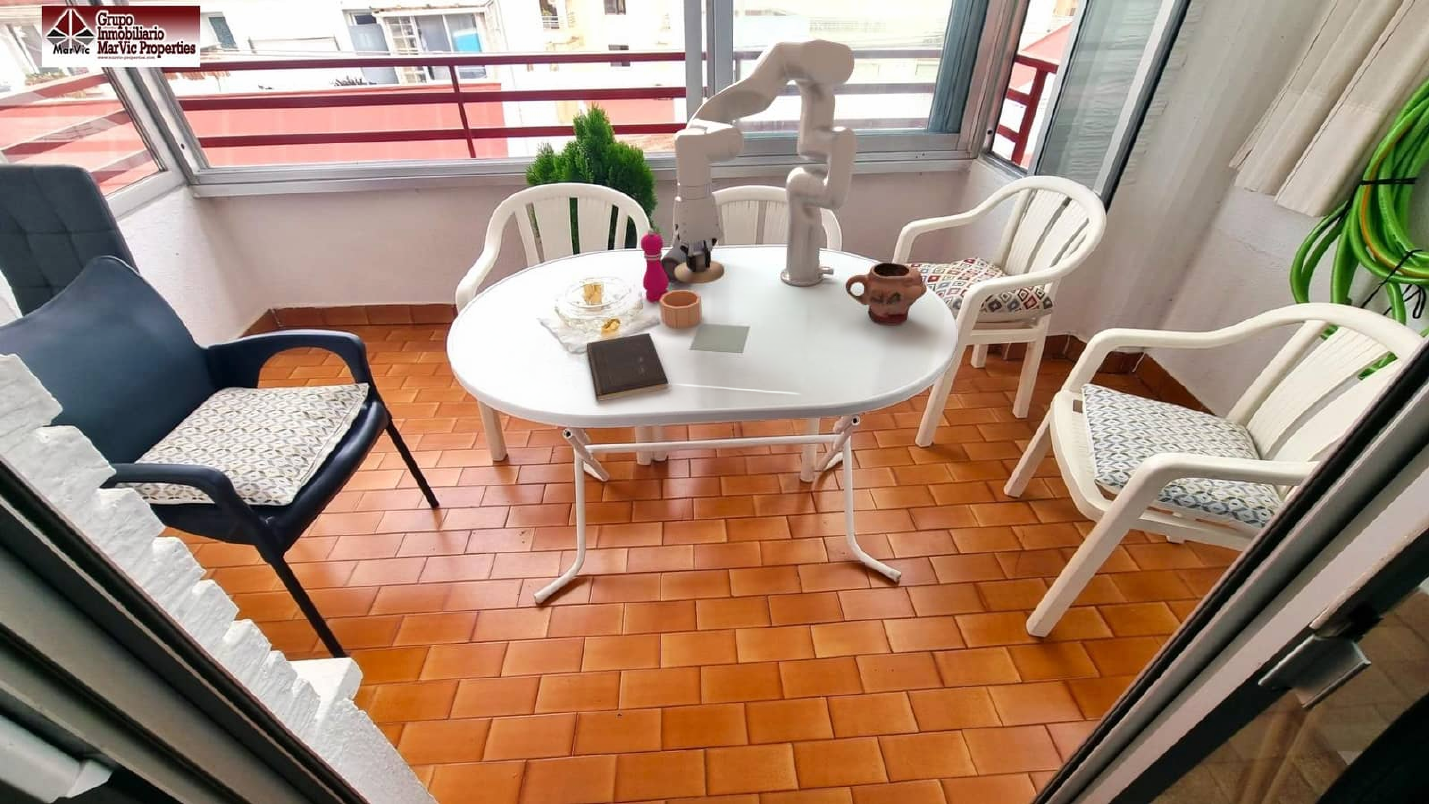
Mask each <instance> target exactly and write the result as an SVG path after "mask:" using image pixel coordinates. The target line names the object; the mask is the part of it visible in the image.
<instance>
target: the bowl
mask: <svg viewBox="0 0 1429 804" xmlns="http://www.w3.org/2000/svg"><path fill="white" fill-rule="evenodd" d="M659 307H660V308H659V310H660V317H661V321H662V323H663V324H664V325H665V326H667V327H671V328H675V329H681V328H682V329H683V328H690V327H691V328H692V327H693V326H696V325H697V324H700V322H701V321H702V317H703V313H702V312H703V311H702V296H701V295H700V294H699V293H698V292H696V291H693V290H688V289H678V290H677V289H675V290H670V291H668V293H666V294H664V295H662V297H661V299H660V301H659Z"/></svg>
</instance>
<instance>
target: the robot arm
mask: <svg viewBox="0 0 1429 804" xmlns="http://www.w3.org/2000/svg"><path fill="white" fill-rule="evenodd" d="M854 69H855V55H854V52H853V50H852V49H851V48H850V47H849V46H848V45H847V44H844V43H839V42H835V41H830V40H826V39H822V38H821V39H820V38H817V37H809V36H795V35H794V36H790V35H785V36H784V35H783V36H778V37H776V38H774V39H773V40H772V41H771V42H770V43H768V45H767V46H766V48H765V49H763V51H762V52H761V54H760V55H759V56H758V57H757V59H756V60H755V61H754V62H753V64H752V65H751V66H750V67H749V69H748V70H747V72H745V74H744V75H743V76H742V78H740V80H738V81H736V82H734V83H732V84H731V85H729V86H727V87H726V88H724V89H722V90H721V91H719V92H718V93H716V94H714V95H713V96H711V97H709V98H708V99H707V100H706V101H705V102H703V104H701V106H700V107H699V108H698V110H697V111H696V112H695V114H694V115H693V116H692V117H691V118H690V120H689V121H688V123H687V125H686V128H684V129H683V128H682V129H681V130H678V131H677V132H676V133H675V135H674V152H675V167H676V179H677V180H676V182H677V196H676V197H674V203H673V211H672V213H673V217H672V218H673V219H672V225H673V226H672V231H673V232H672V233H673V237H672V240H671V243H670V246H671V247H672V248H673V247H674V248H676V249H679V250H682V251H683V252H684V253H686V265H687V267H688V268H689V269H690V270H691V271H693V272H695V271H696V261H695V256H694V255H693V243H695V242H700V241H702V243H703V248H702V250H701V252H704V253H705V261H706V268H710V263H711V261H712V256H711V255H712V251H713V249H714V246H715V245H716V244H717V242H718V241H719V240H720V239H722V238H723V237H724V233H723V231H722V229H721V228H720V220H719V218H720V217H719V212H718V211H719V210H718V206H717V201H716V197H715V194H714V193H713V189H714V188H717V181H715V180H712V164H715V163H728V162H732V161H733V160H735V159H737V158H738V157H740V155H741V154H742V152H743V150H744V147H745V137H744V135H743V133H742V131H741V130H740V129H739V128H738V127H736V126H734V125H732V124H730V123H731V122H734V121H735V120H739V119H742V118H743V119H744V118H747V117H751V116H754V115H757V114H761V113H763V112H765V111H766V110H768V108H770V107H771V105H772V104H773V103H774V101H775V100H776V98H778V96H779V95H780V93H781V92H782V91H783V89H784V88H785V87H786V86H787V85H788V83H790V82H791V81H794V82H795V84H796V86H797V88H798V90H799V94H800V98H801V106H800V115H799V116H800V117H799V124H798V125H799V126H798V133H797V141H796V151H797V155H798V156H799V158H800V159H803V160H805V161H807V162H813V163H815V164H816V163H817V164H822V165H827V169H824V168H820V167H817V166H816V167H815V166H809V165H799V166H796V167H794V168H793V169H792V170H791V171H790V172H789V173H788V174H787V177H786V181H785V193H786V198H787V207H788V208H787V210H788V212H787V214H788V216H787V217H788V219H787V220H788V221H787V235H786V236H787V239H786V241H787V242H786V259H785V260H786V263H785V268H784V269H782V270H781V272H780V279H781V280H782V281H783V282H784V283H786V284H788V285H792V286H797V287H798V286H801V287H803V286H804V287H806V286H814V285H816V284H818V283H820V282H821V281H822V280H823V278H824V275H829V276H833V275H834V272H835V268H834V267H831V265H823V264H821V259H820V253H821V252H820V251H821V239H822V229H823V216H822V212H821V209H824V210H829V211H837V210H839V209H841V208H842V207H843V206H844V205H845V203H846V202H847V199H848V197H849V194H850V189H851V183H852V177H853V172H854V168H855V167H854V166H855V162H856V156H857V155H856V154H857V149H858V148H857V147H858V145H857V143H858V142H857V136H856V133H855V132H854V130H853V129H852V128H851V127H848V126H846V125H841V124H834V119H835V118H834V117H835V108H836V97H835V92H834V88H833V87H839V86H842V85H844V84H845V83H847V82H848V81H849V80H850V78H851V77H852V75H853V72H854ZM680 241H681V243H683V244H684V245H682V244H680V243H679V242H680Z"/></svg>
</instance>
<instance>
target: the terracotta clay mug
mask: <svg viewBox="0 0 1429 804" xmlns="http://www.w3.org/2000/svg"><path fill="white" fill-rule="evenodd" d="M857 283H859V284H861V285H863V292H862V294H859V295H856V294H854V293H853V292H852V291H851V288H852V286H853V285H854V284H857ZM844 286H845V291H846V293H847V294H848V295H849V296H851V298H853V299H854V300H855V301H857V302H858V303H860V304H862V305H863V306H868V311H867V312H868V313H867V314H868V316H869V318H870V320H871V321H873V322H874V323H877V324H881V325H885V326H886V325H890V326H891V325H900V324H903V323H905V322H906V321H907V319H908V316H909V310H910V308H911V306H912V305H914V303H916V301H917V300H918V299H920V298H921V297H922V296H924V295H925V294H926V293H927V290H928V289H927V288H928V287H927V285H926V283H924V281H923V276H922V274H921V272H920V271H919V270H918V269H917V268H914V267H911V266H910V265H907V264H903V263H895V262H879V263H875V264H873V266H871V267H870V269H869V273H868V272H867V274H866V273H865V274H856V275H853V276H851V277H849V278H848V279H847V281H846V283H845V285H844Z"/></svg>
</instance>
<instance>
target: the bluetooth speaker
mask: <svg viewBox="0 0 1429 804" xmlns="http://www.w3.org/2000/svg"><path fill="white" fill-rule="evenodd" d="M679 243H680V244H682V245H684V244H683V243H681V240H680V242H679ZM702 248H703V243H702V241H700V242H695V243H693V252H697V251H701V250H702ZM684 262H686V253H684V252H683V251H682V250H679V249H676V248H674V247H672V248H670V249H669V250H668V251H667V253H666V254H664V256H662V257H661V265H662V268H663V270H664V272H665V274H666V275H667V278H668V282H669V284H679V283H680V282H681V281H680V280H679V279H677V278H676V277H675V268H676V267H677V266H678V265H680V264H682V263H684Z"/></svg>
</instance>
